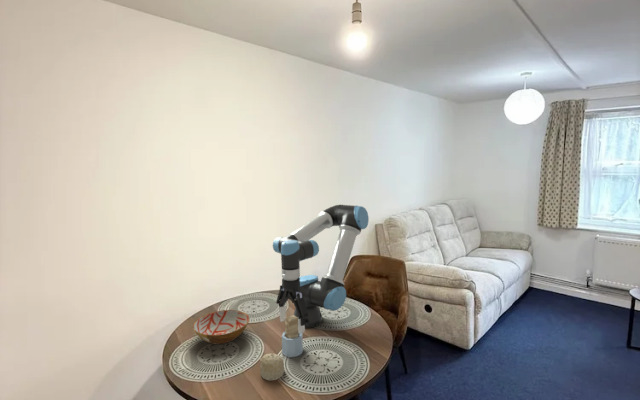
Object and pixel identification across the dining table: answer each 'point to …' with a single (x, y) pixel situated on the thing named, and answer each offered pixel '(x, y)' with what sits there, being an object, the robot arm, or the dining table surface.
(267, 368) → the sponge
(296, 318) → the tan bar
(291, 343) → the jar
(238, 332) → the bowl
